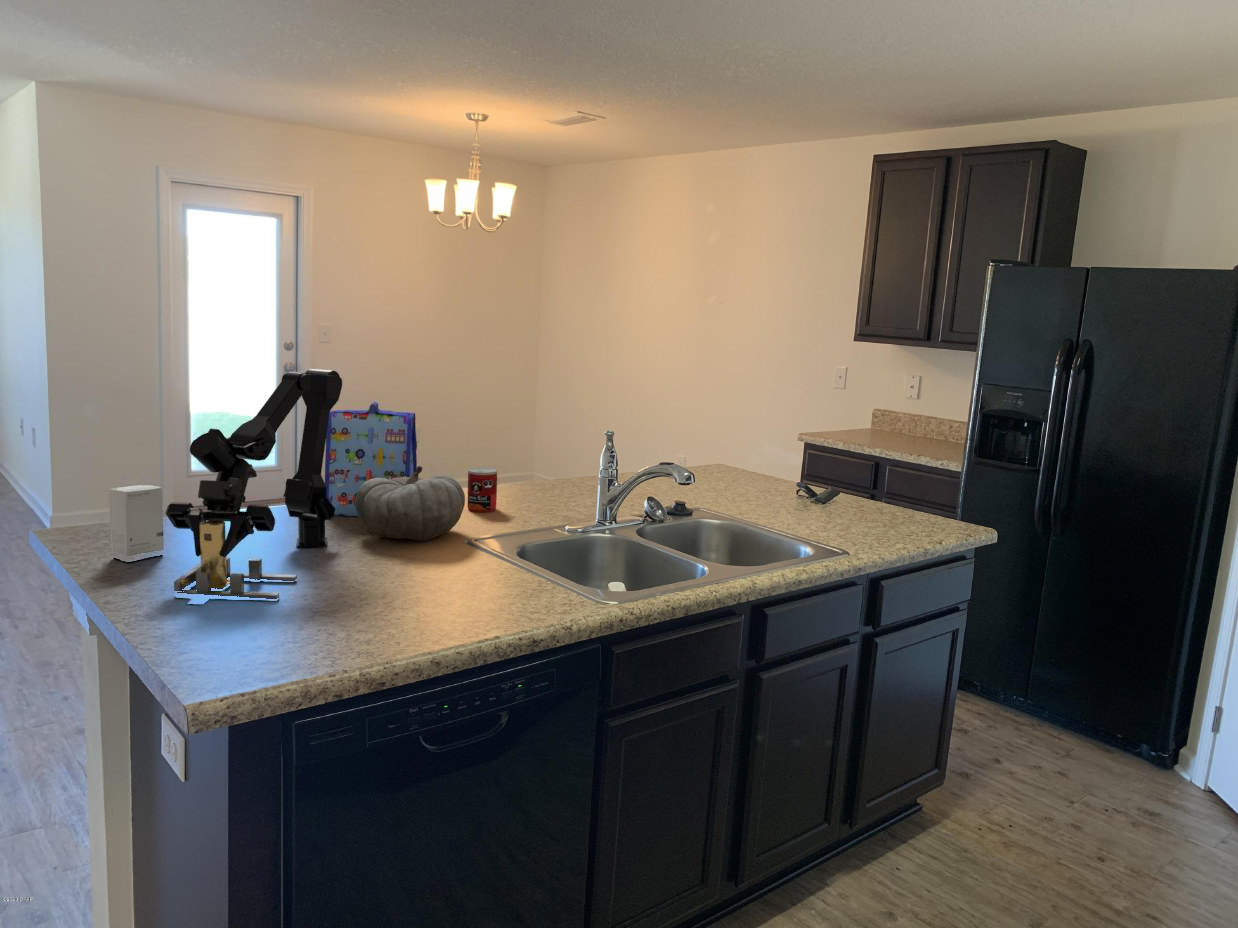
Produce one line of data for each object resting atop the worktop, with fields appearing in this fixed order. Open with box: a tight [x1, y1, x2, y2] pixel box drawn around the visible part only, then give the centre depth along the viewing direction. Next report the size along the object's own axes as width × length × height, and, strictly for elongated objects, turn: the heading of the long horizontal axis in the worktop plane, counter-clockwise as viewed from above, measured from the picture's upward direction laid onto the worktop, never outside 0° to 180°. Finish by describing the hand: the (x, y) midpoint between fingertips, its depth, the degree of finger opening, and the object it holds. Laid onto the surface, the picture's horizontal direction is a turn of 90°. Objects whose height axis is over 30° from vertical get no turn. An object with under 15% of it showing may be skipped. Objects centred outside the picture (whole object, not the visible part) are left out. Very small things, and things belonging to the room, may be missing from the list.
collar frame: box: [173, 557, 298, 599], centre depth 167 cm, size 16×18×4 cm
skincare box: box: [108, 484, 165, 556], centre depth 184 cm, size 8×6×15 cm
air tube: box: [199, 520, 230, 589], centre depth 167 cm, size 5×5×12 cm
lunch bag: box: [324, 401, 418, 517], centre depth 231 cm, size 22×14×29 cm, turn 92°
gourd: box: [355, 465, 466, 542], centre depth 211 cm, size 25×25×17 cm
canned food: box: [467, 466, 498, 513], centre depth 242 cm, size 8×8×11 cm
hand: (210, 555), depth 166 cm, fingers closed on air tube, 4 cm apart
